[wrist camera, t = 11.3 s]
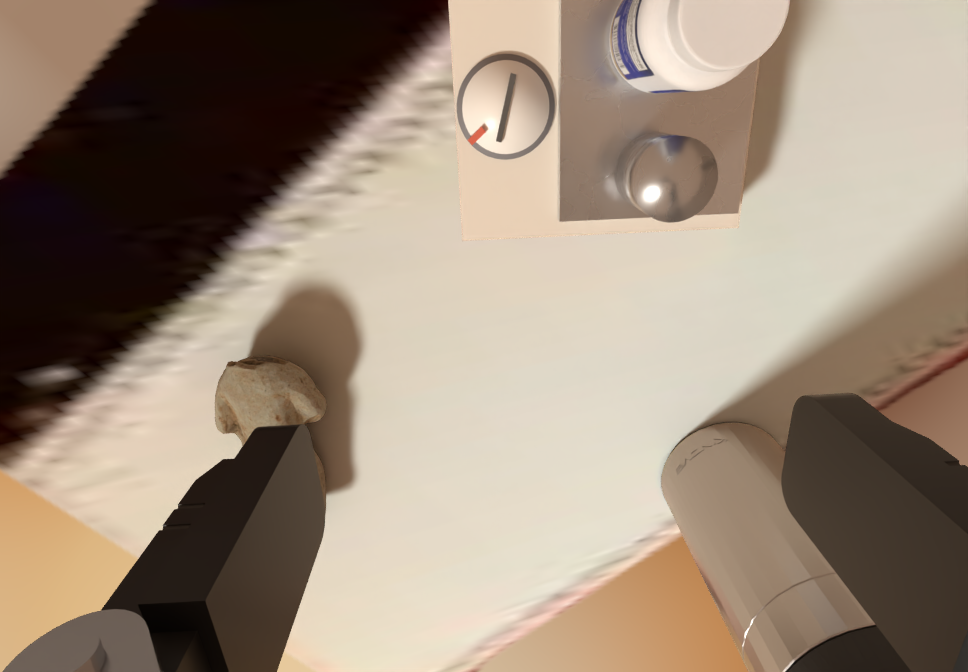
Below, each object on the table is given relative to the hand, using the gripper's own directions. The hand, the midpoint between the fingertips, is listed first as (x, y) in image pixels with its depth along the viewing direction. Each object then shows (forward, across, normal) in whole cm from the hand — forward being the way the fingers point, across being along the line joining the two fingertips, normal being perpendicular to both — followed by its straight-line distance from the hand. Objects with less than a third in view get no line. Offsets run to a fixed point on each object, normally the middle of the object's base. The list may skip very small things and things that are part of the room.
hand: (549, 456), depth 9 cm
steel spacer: (+24, -8, -1) cm, 25 cm away
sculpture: (+28, +16, +16) cm, 36 cm away
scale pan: (+25, -9, -5) cm, 26 cm away
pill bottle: (+24, -8, -8) cm, 27 cm away
